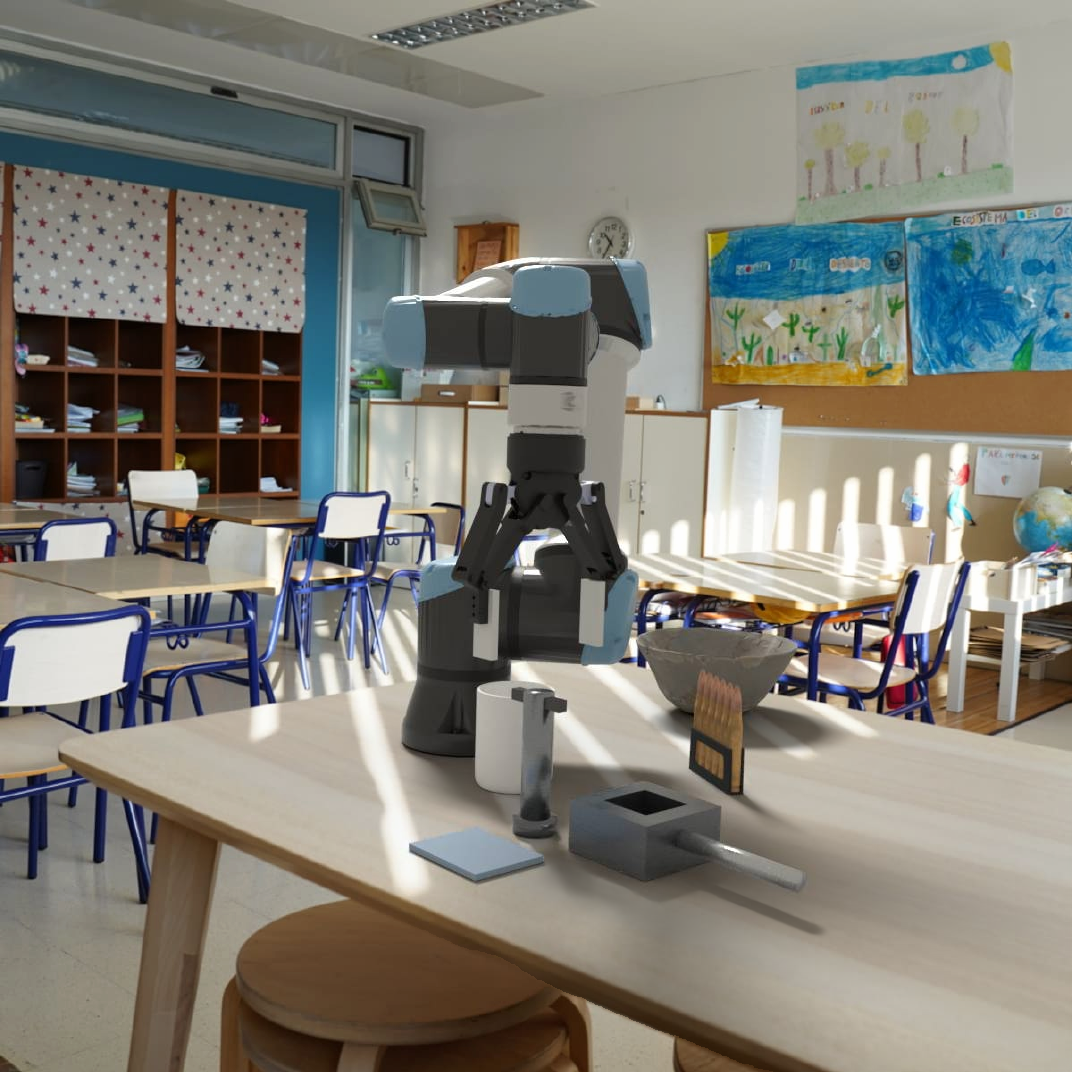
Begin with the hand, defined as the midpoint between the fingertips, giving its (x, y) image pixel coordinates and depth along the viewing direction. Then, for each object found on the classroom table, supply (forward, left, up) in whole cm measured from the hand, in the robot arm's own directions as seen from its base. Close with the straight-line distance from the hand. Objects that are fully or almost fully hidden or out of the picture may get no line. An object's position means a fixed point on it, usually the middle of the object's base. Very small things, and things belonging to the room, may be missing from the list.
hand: (539, 651), depth 124 cm
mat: (+2, -9, -18) cm, 20 cm away
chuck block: (+17, +4, -18) cm, 25 cm away
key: (0, 0, -18) cm, 18 cm away
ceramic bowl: (-24, +54, -18) cm, 62 cm away
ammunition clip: (-1, +28, -18) cm, 34 cm away
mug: (-15, +9, -18) cm, 25 cm away
